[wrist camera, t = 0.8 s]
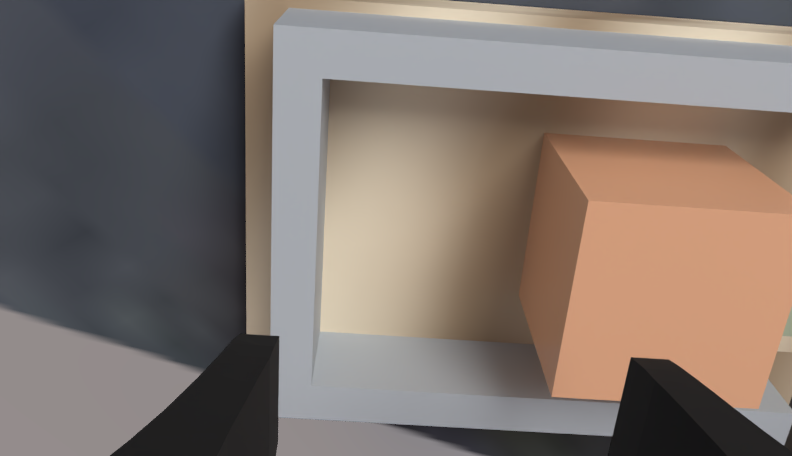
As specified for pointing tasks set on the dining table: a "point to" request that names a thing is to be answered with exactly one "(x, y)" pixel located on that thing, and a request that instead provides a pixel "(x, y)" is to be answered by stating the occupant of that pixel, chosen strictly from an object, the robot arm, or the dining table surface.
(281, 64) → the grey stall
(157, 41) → the dining table surface
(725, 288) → the terracotta block
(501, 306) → the birch deck
